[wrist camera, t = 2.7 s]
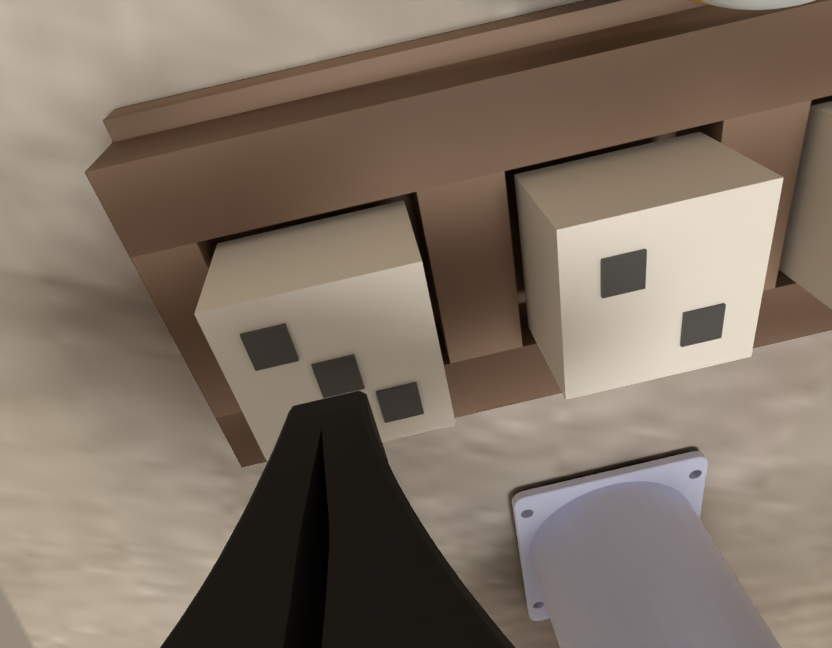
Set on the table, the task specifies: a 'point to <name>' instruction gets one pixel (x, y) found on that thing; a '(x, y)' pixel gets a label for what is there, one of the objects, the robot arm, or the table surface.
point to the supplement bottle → (753, 3)
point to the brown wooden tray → (459, 161)
